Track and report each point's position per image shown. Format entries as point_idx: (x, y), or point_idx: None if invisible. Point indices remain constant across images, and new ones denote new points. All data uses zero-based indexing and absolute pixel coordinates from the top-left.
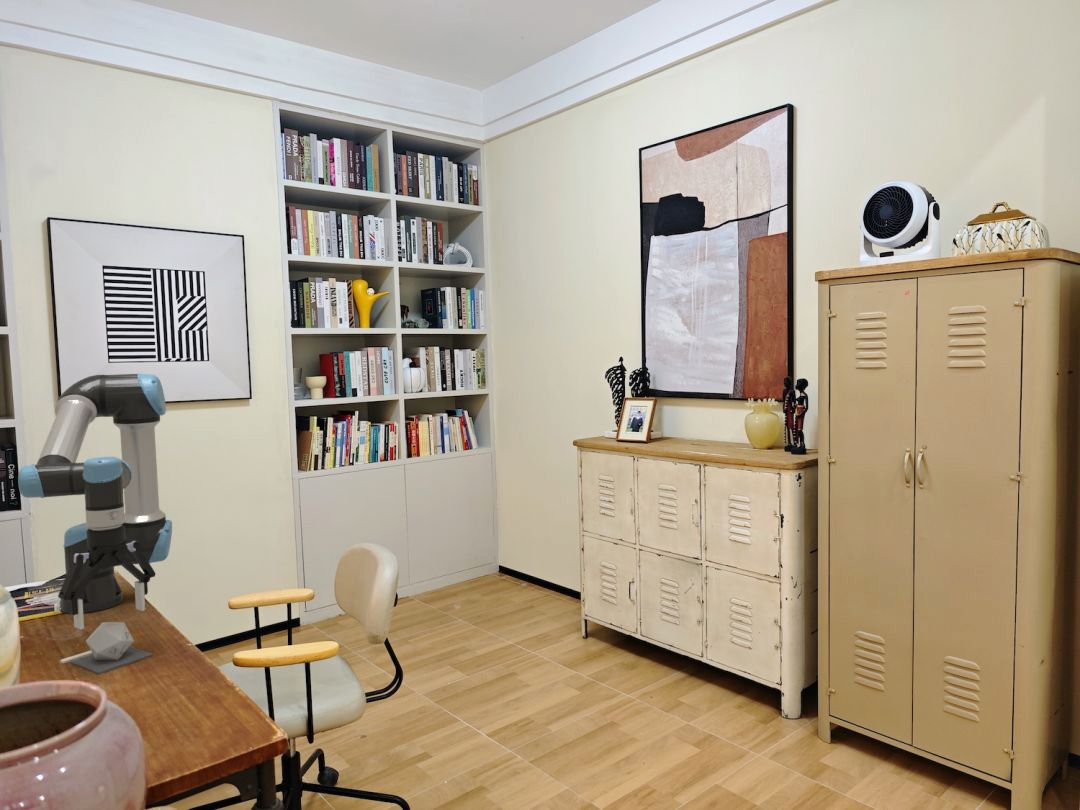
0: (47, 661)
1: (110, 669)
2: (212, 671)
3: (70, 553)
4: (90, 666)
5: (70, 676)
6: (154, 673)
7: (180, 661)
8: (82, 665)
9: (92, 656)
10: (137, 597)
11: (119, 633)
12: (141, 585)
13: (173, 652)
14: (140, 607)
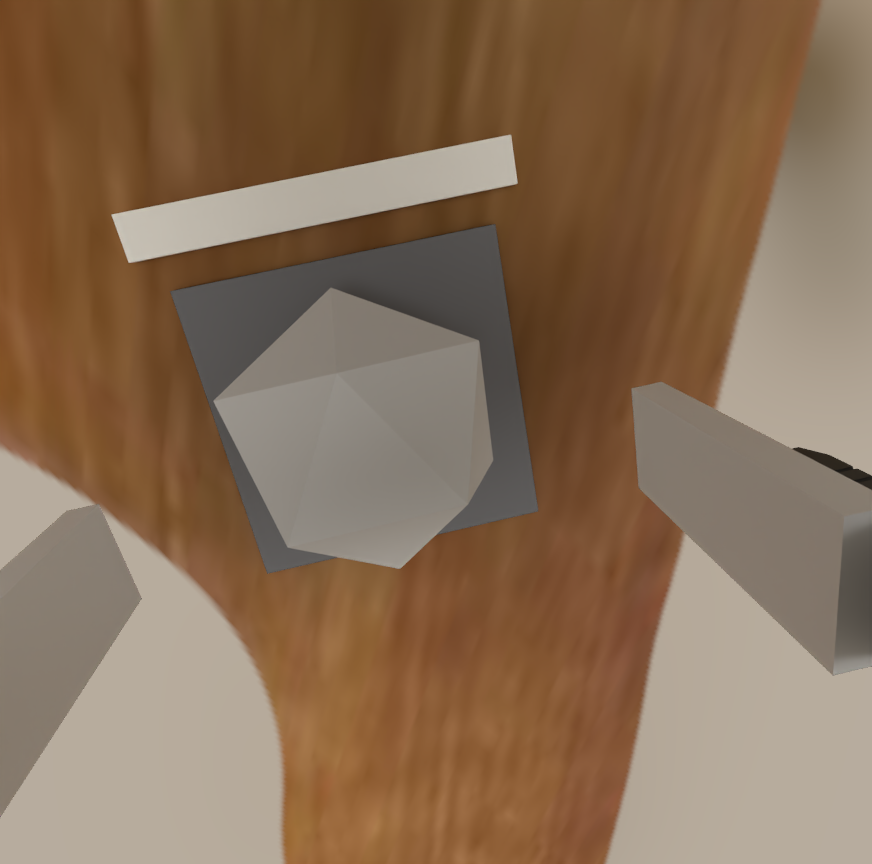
0: (44, 123)
1: (325, 557)
2: (613, 814)
3: None
4: None
5: (149, 499)
6: (458, 708)
7: (586, 654)
8: (217, 416)
9: (290, 302)
10: (697, 474)
11: (405, 548)
12: (819, 648)
13: (618, 529)
14: (650, 476)
